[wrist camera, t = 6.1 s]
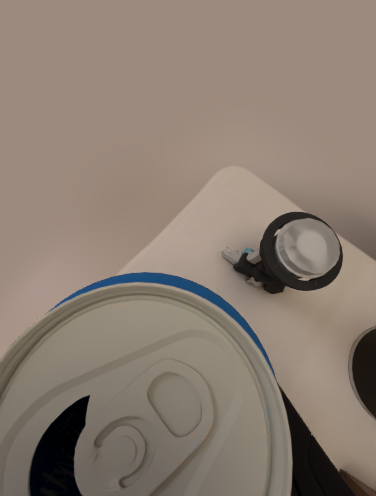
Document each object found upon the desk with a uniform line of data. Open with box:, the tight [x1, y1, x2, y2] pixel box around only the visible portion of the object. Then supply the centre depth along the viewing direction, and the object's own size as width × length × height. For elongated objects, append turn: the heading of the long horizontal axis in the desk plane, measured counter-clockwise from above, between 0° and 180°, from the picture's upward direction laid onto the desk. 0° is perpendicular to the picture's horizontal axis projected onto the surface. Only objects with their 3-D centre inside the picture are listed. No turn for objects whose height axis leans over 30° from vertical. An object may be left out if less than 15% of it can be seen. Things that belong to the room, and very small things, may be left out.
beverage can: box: [0, 272, 293, 496], centre depth 10 cm, size 6×6×12 cm
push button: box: [222, 212, 343, 294], centre depth 19 cm, size 7×5×10 cm
